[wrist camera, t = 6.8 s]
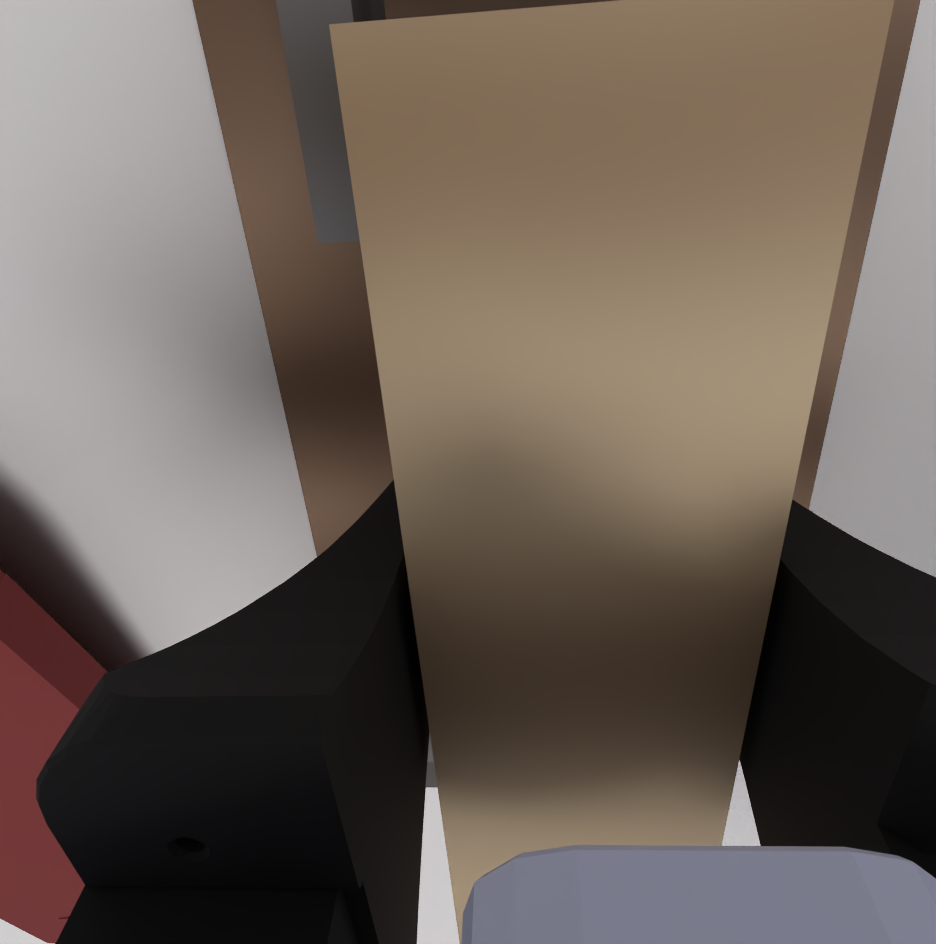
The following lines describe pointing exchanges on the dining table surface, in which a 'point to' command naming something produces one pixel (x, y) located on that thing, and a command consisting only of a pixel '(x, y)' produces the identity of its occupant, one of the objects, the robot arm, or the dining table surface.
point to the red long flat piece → (35, 758)
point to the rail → (599, 381)
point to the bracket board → (338, 245)
